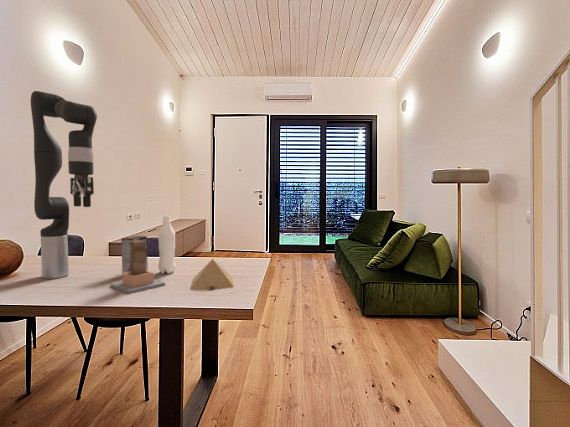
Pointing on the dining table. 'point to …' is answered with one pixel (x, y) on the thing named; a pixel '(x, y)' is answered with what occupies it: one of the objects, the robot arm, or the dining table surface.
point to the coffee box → (127, 251)
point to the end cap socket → (137, 282)
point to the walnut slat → (137, 257)
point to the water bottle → (166, 247)
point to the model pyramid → (212, 277)
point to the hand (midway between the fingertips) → (82, 206)
